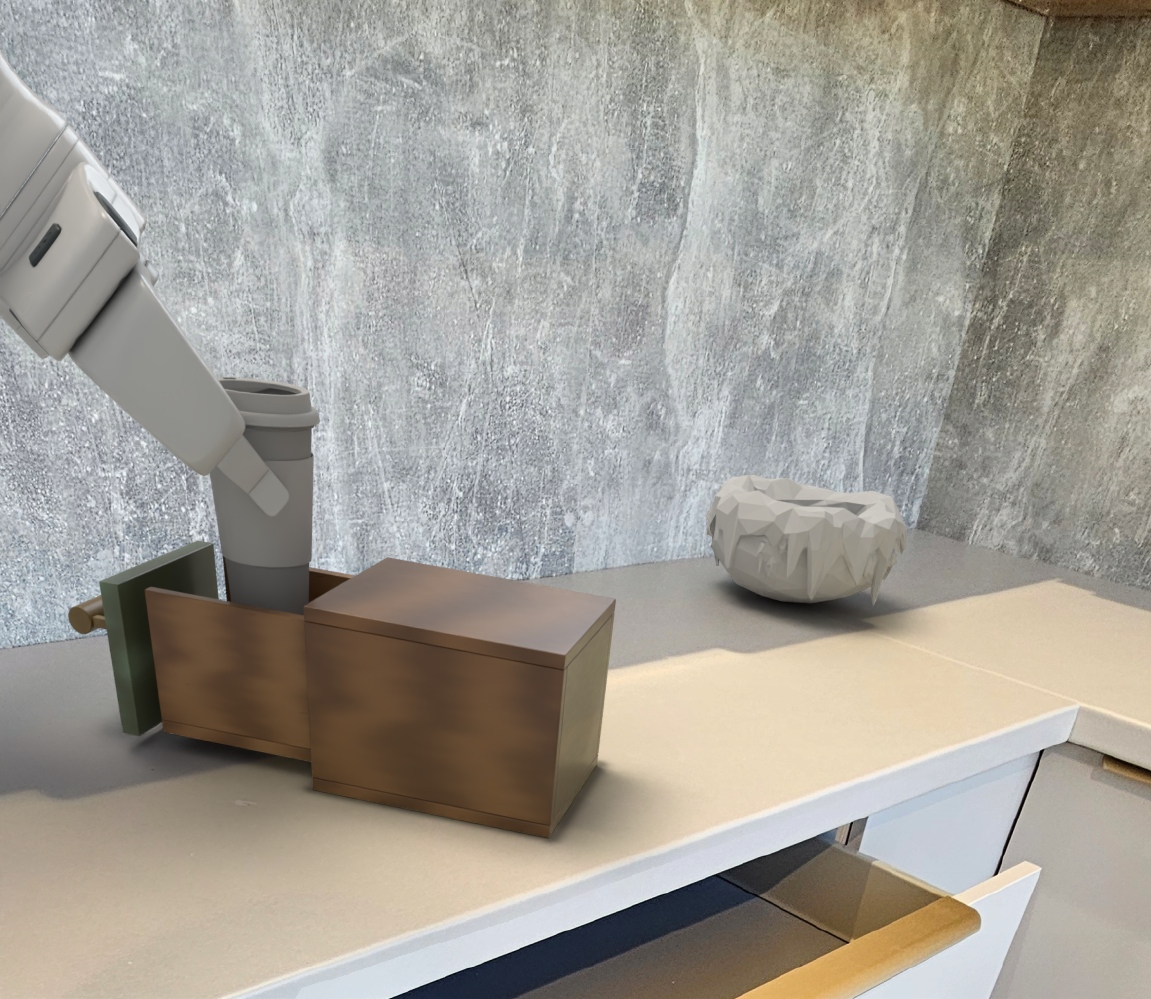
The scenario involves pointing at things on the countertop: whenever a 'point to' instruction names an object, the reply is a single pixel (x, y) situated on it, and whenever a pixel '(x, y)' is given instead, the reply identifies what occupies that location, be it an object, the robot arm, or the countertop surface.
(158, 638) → the drawer
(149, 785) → the countertop surface
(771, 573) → the bowl
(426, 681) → the cabinet
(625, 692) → the countertop surface
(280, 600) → the cup
